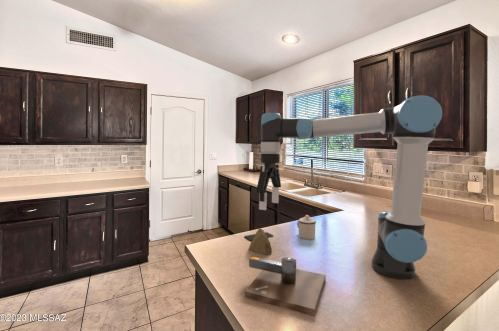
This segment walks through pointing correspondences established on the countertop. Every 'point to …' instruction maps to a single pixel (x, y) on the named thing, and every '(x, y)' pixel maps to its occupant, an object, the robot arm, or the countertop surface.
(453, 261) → the countertop surface
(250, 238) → the phone
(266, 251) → the rock
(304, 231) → the cream lidded jar
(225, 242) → the countertop surface
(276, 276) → the base board
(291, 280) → the grey mallet
